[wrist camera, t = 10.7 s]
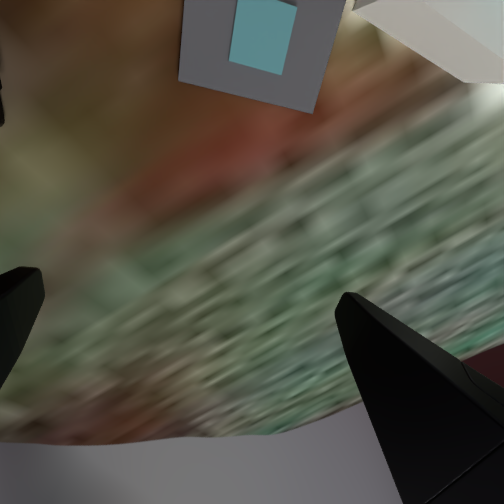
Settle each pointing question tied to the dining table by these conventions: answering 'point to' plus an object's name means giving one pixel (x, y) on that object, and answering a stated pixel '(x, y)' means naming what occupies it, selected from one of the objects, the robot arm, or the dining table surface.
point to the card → (260, 48)
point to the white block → (446, 33)
